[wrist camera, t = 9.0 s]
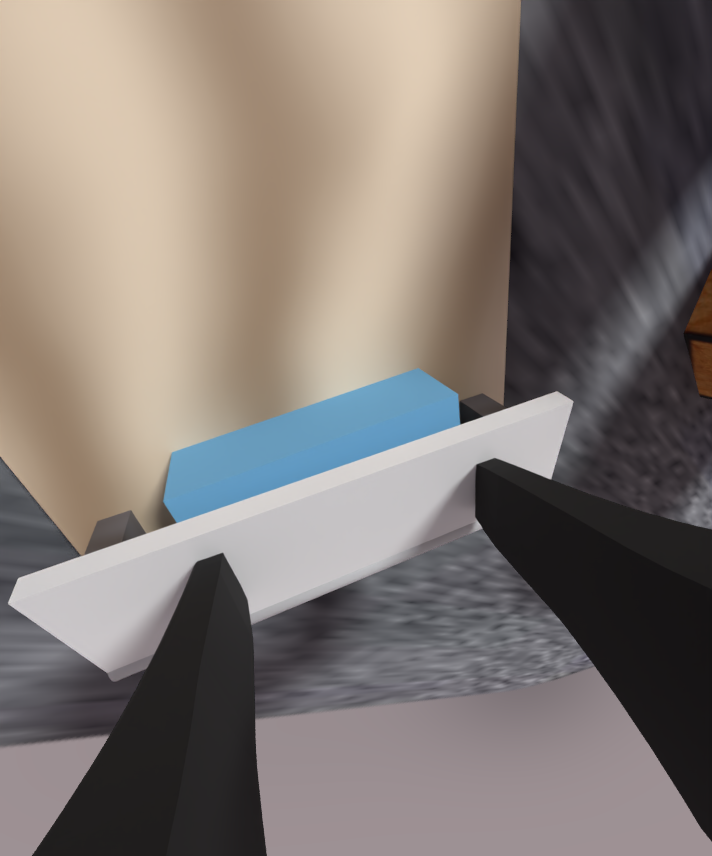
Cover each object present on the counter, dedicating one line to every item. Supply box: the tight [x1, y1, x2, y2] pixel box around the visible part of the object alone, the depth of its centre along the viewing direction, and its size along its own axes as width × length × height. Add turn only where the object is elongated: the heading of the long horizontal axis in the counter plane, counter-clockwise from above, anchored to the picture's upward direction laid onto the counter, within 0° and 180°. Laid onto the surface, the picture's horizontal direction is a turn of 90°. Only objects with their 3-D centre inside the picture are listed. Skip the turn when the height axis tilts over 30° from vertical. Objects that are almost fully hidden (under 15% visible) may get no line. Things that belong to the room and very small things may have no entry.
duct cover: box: [8, 391, 573, 682], centre depth 10 cm, size 14×4×1 cm, turn 100°
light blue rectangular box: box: [163, 368, 460, 523], centre depth 12 cm, size 8×2×2 cm, turn 102°
